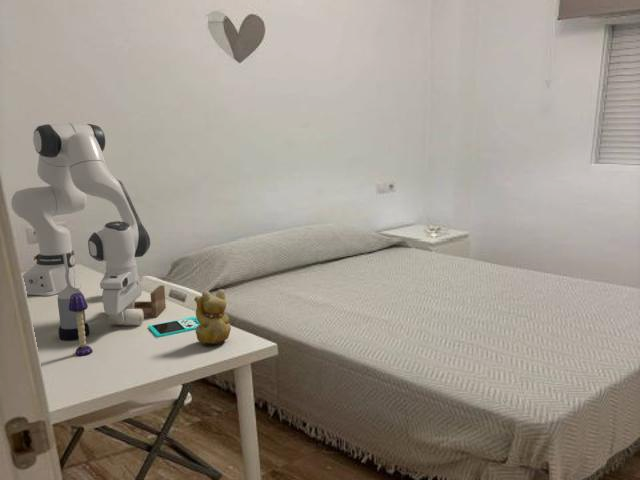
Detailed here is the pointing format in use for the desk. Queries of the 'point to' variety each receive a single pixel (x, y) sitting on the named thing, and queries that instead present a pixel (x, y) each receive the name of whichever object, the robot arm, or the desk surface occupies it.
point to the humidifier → (68, 318)
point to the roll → (128, 317)
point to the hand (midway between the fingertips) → (126, 319)
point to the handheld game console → (174, 327)
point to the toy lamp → (80, 322)
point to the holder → (153, 304)
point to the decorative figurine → (212, 318)
